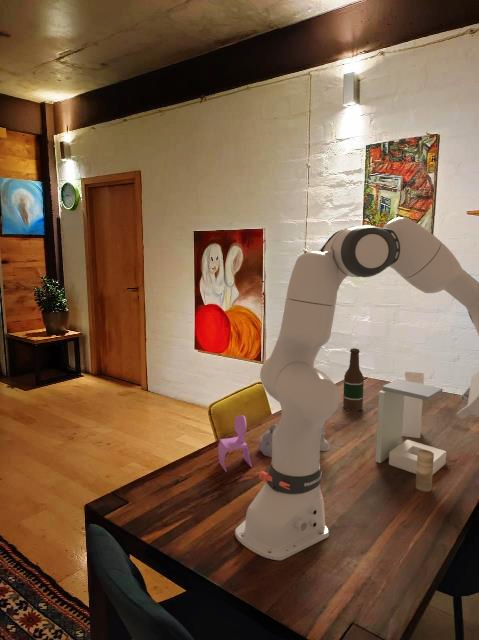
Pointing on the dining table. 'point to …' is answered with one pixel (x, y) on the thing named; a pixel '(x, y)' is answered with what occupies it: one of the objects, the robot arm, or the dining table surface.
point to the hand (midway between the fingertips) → (460, 407)
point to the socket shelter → (393, 424)
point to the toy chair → (235, 442)
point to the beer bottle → (353, 384)
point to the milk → (412, 408)
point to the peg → (424, 470)
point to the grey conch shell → (267, 441)
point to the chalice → (323, 441)
